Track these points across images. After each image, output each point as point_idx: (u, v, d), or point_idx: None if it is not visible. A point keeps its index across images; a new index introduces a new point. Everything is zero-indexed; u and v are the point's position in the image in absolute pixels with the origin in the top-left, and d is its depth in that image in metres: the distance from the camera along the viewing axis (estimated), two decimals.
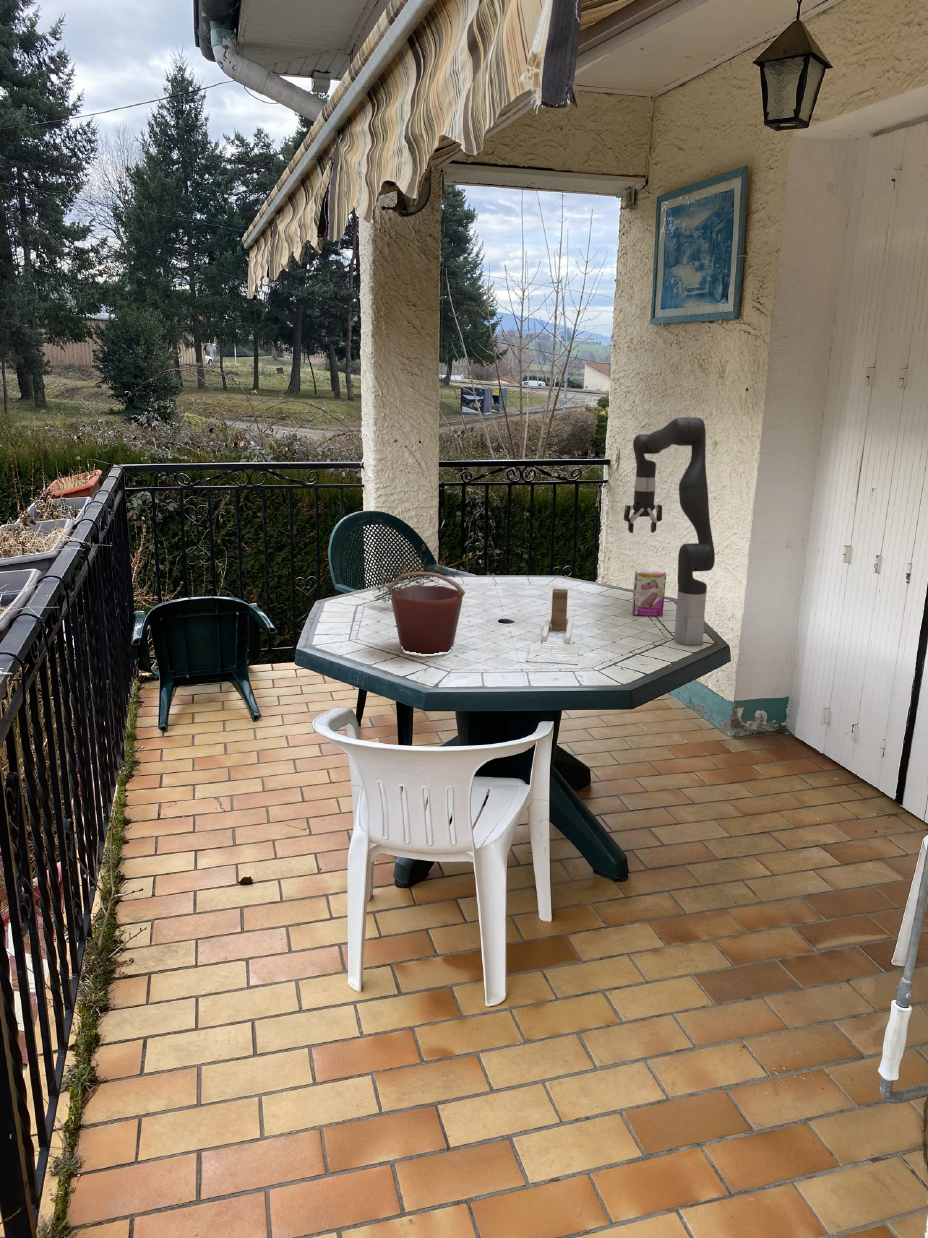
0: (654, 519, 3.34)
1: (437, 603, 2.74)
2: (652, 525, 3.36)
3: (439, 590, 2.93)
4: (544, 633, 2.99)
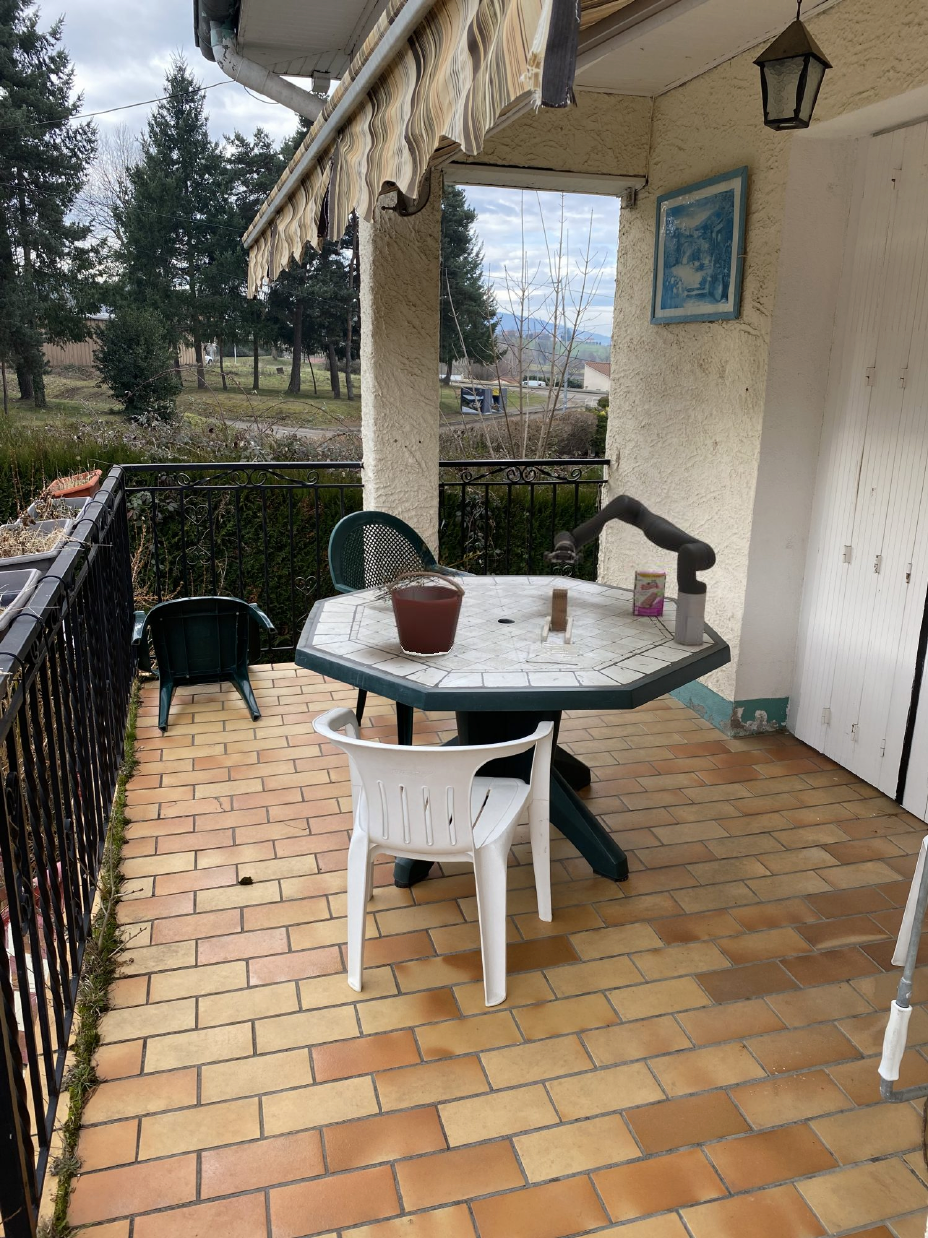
0: (575, 555, 3.22)
1: (437, 603, 2.74)
2: None
3: (439, 590, 2.93)
4: (544, 633, 2.99)
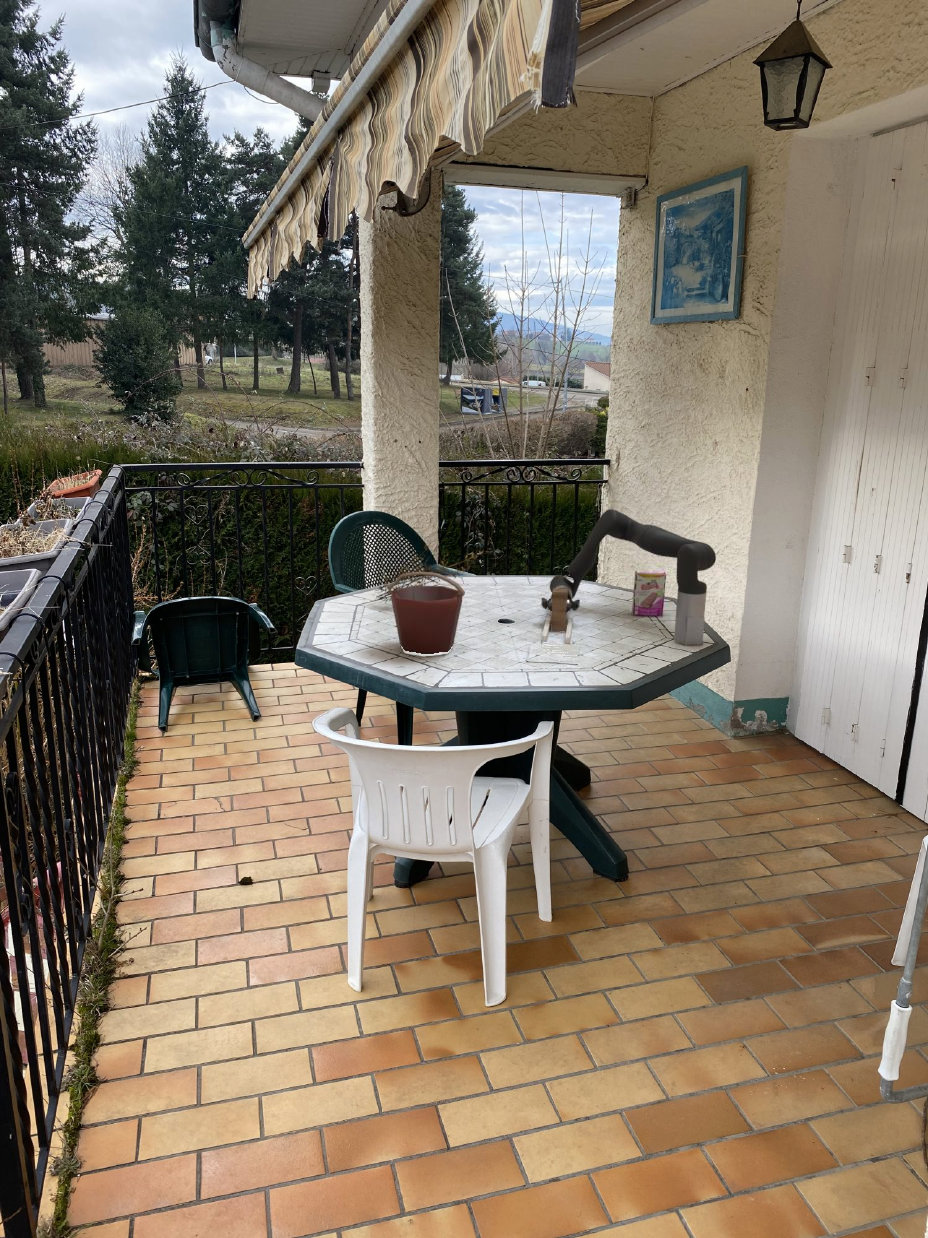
0: (568, 602, 3.12)
1: (437, 603, 2.74)
2: None
3: (439, 590, 2.93)
4: (544, 633, 2.99)
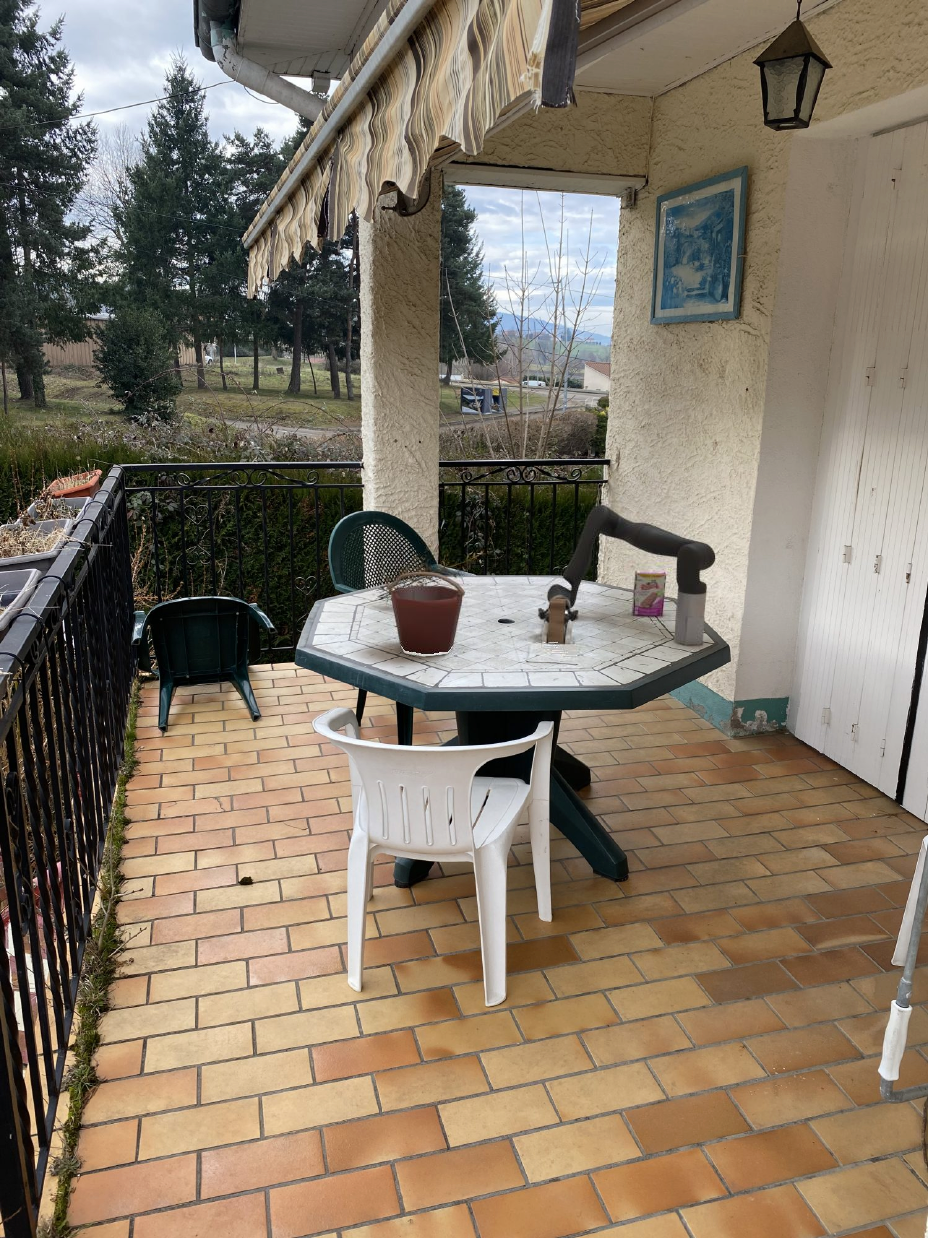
0: (566, 613, 2.98)
1: (437, 603, 2.74)
2: None
3: (439, 590, 2.93)
4: (544, 633, 2.99)
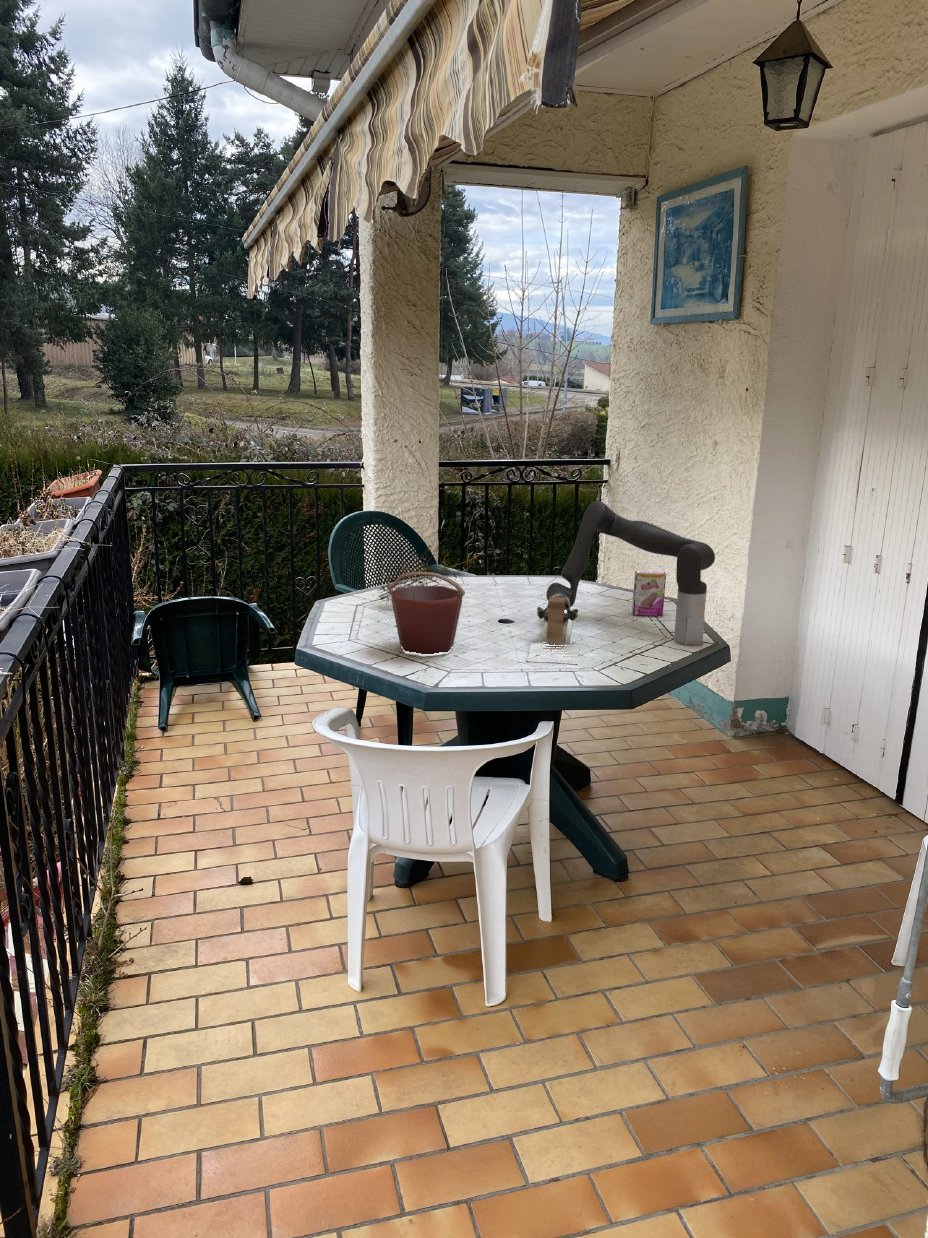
0: (565, 612, 2.92)
1: (437, 603, 2.74)
2: None
3: (439, 590, 2.93)
4: (544, 633, 2.99)
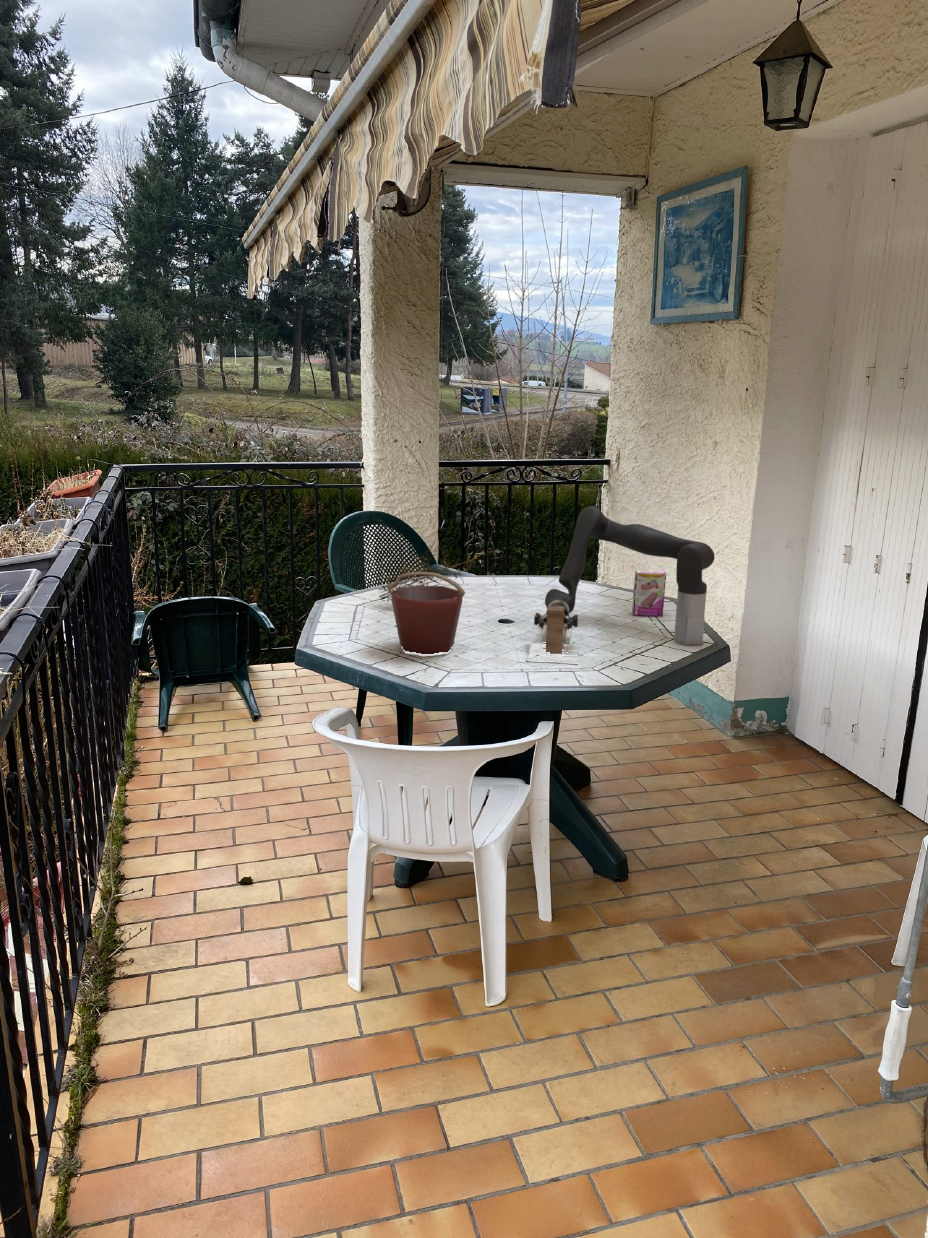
0: (568, 618, 2.87)
1: (437, 603, 2.74)
2: None
3: (439, 590, 2.93)
4: (544, 633, 2.99)
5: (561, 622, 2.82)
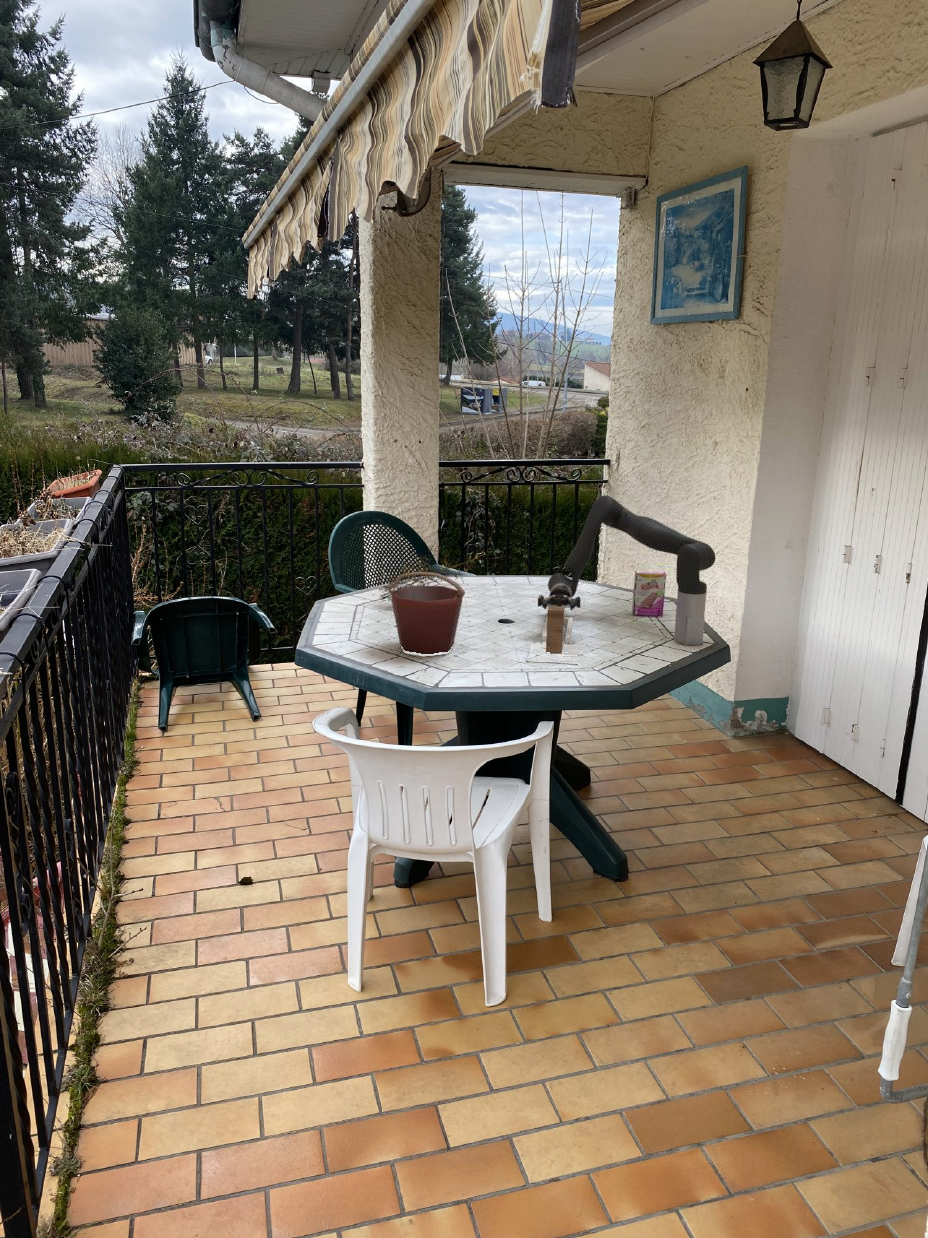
0: (571, 600, 2.98)
1: (437, 603, 2.74)
2: None
3: (439, 590, 2.93)
4: (544, 633, 2.99)
5: (561, 622, 2.82)
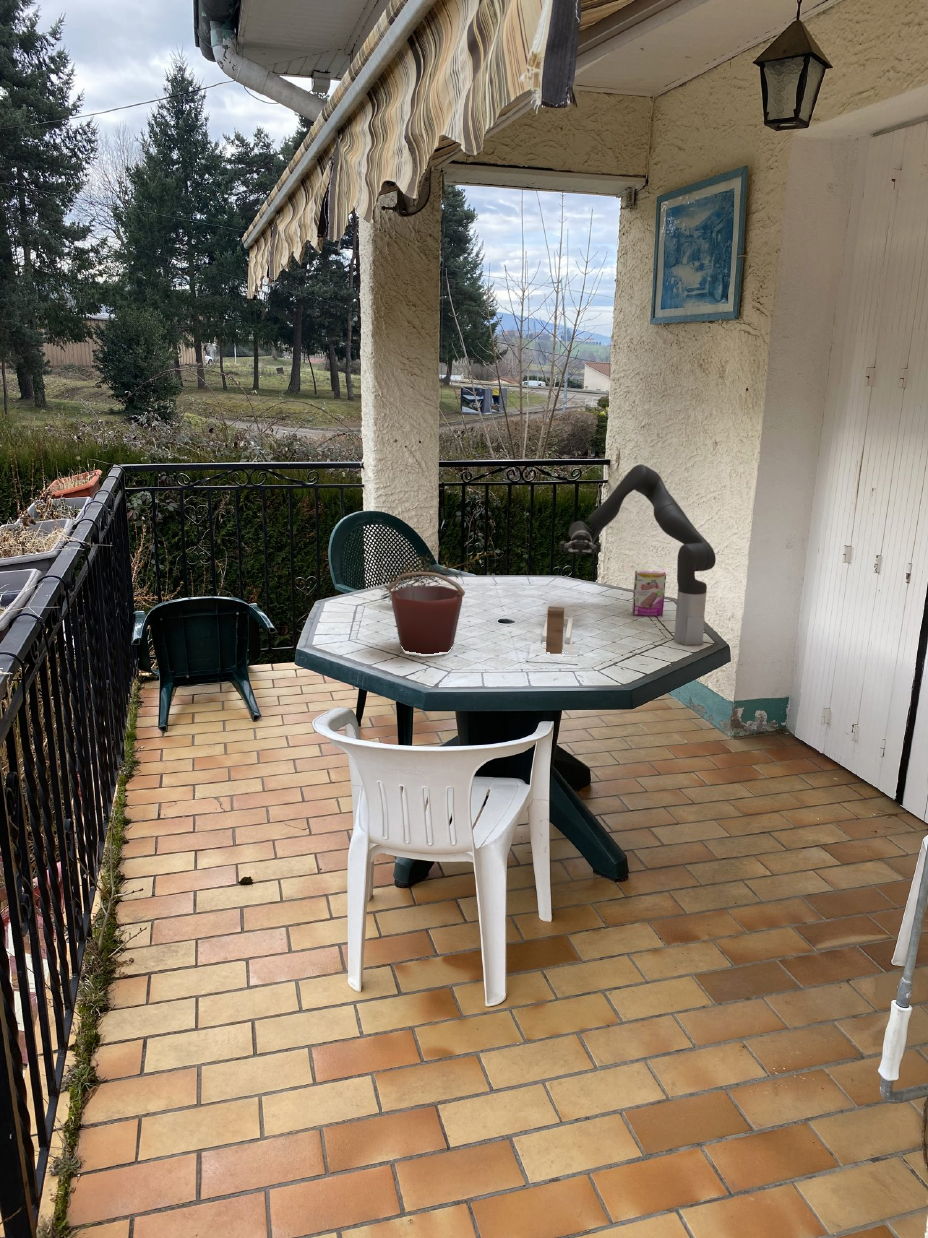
0: (592, 544, 3.10)
1: (437, 603, 2.74)
2: None
3: (439, 590, 2.93)
4: (544, 633, 2.99)
5: (561, 622, 2.82)
